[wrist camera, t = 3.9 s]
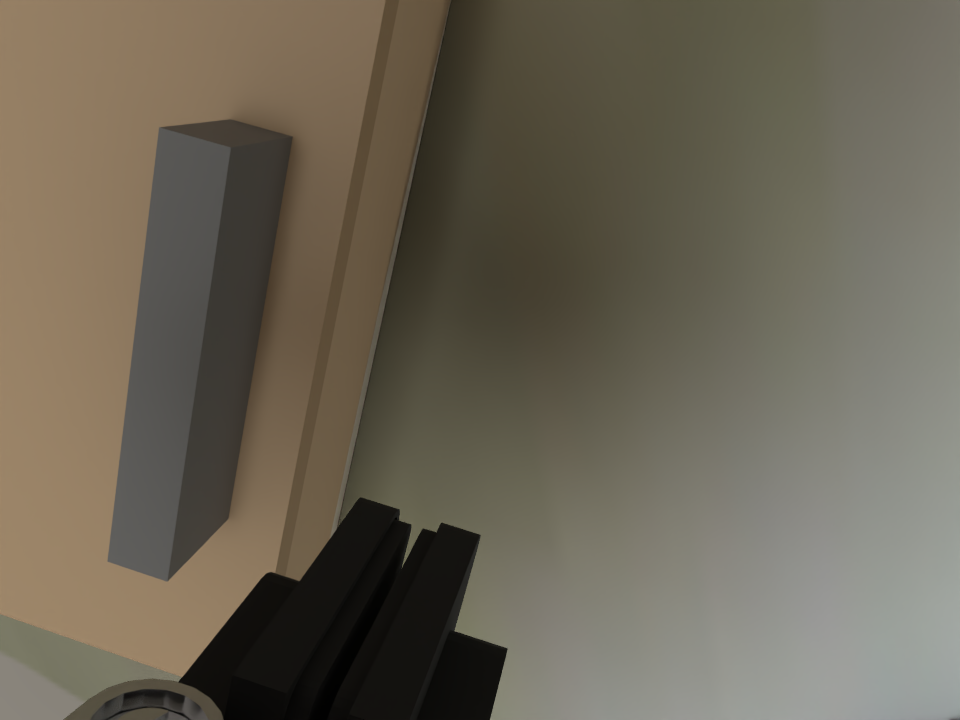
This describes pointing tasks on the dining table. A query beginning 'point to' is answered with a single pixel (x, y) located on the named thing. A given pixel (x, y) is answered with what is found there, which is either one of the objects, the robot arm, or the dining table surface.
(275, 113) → the lid
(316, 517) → the lidded box
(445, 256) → the dining table surface
